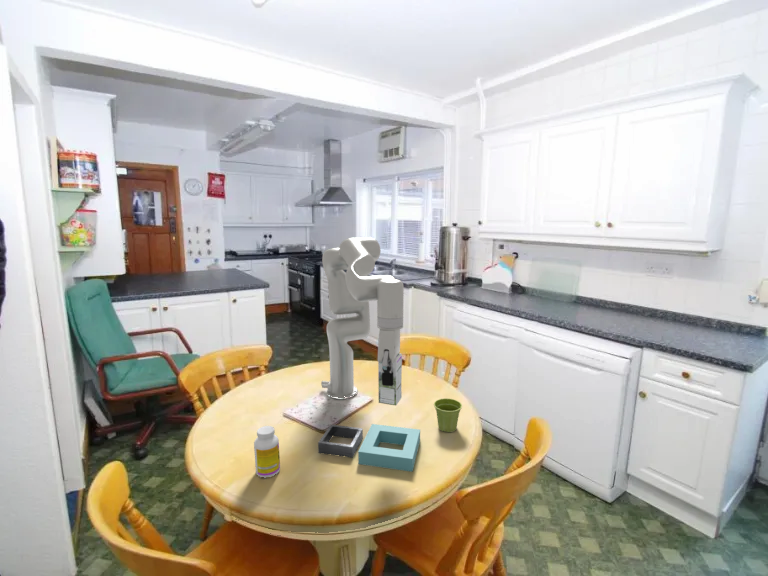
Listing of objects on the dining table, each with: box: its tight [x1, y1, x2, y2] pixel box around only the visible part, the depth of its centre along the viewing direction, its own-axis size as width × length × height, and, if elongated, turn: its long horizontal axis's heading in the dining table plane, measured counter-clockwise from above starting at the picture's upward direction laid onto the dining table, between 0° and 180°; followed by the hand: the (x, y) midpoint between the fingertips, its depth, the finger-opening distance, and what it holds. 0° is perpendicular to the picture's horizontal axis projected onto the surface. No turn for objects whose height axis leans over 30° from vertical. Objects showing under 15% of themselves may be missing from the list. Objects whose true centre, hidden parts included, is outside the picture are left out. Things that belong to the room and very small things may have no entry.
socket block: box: [357, 423, 421, 473], centre depth 120 cm, size 16×16×4 cm
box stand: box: [317, 424, 364, 459], centre depth 124 cm, size 11×11×4 cm
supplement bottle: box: [253, 425, 281, 479], centre depth 110 cm, size 7×7×13 cm
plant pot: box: [433, 398, 463, 433], centre depth 134 cm, size 9×9×9 cm
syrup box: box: [377, 352, 403, 406], centre depth 117 cm, size 6×6×14 cm
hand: (390, 379), depth 117 cm, fingers closed on syrup box, 6 cm apart
